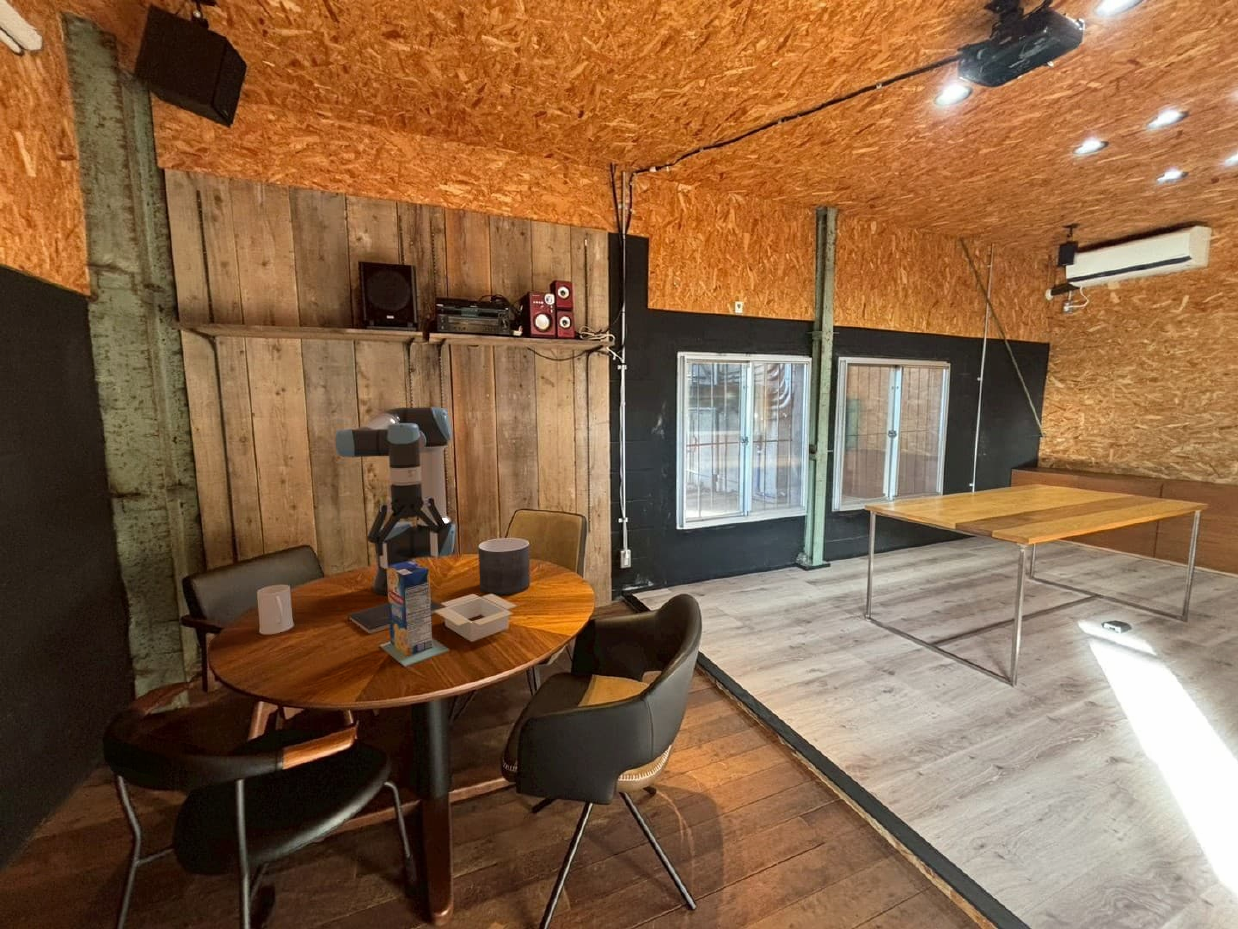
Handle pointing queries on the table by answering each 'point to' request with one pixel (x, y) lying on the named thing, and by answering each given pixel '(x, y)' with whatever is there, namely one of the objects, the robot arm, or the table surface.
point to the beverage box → (409, 607)
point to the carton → (472, 607)
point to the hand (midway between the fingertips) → (410, 561)
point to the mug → (274, 609)
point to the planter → (504, 566)
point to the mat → (416, 657)
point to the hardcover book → (379, 617)
